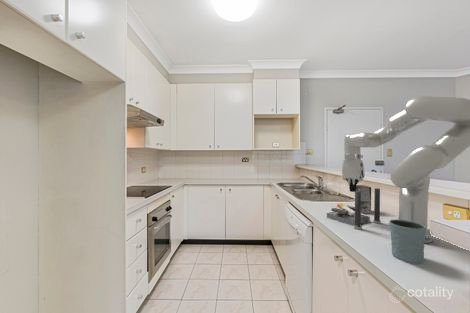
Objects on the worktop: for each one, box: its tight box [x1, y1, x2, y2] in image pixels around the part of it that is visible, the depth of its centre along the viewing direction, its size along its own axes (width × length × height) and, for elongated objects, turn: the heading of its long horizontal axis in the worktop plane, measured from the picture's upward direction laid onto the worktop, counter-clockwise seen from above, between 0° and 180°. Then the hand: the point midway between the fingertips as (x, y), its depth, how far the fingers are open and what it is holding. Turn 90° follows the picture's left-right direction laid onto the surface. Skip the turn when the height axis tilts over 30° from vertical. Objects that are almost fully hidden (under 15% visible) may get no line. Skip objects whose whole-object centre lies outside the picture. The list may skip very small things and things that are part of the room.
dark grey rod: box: [353, 191, 363, 231], centre depth 103 cm, size 3×3×18 cm
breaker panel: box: [326, 205, 371, 227], centre depth 117 cm, size 16×15×6 cm
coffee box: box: [356, 184, 372, 215], centre depth 132 cm, size 9×6×16 cm
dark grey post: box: [372, 187, 382, 225], centre depth 111 cm, size 3×3×18 cm
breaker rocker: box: [336, 202, 355, 215], centre depth 118 cm, size 9×4×2 cm, turn 29°
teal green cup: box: [388, 219, 426, 265], centre depth 75 cm, size 10×10×12 cm
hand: (352, 191), depth 114 cm, fingers closed
